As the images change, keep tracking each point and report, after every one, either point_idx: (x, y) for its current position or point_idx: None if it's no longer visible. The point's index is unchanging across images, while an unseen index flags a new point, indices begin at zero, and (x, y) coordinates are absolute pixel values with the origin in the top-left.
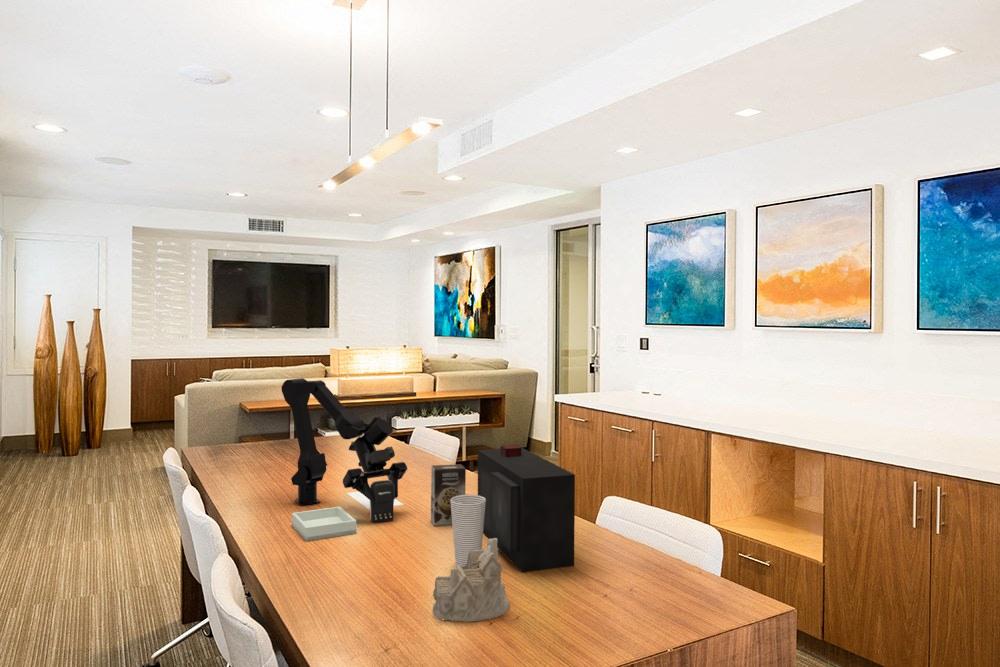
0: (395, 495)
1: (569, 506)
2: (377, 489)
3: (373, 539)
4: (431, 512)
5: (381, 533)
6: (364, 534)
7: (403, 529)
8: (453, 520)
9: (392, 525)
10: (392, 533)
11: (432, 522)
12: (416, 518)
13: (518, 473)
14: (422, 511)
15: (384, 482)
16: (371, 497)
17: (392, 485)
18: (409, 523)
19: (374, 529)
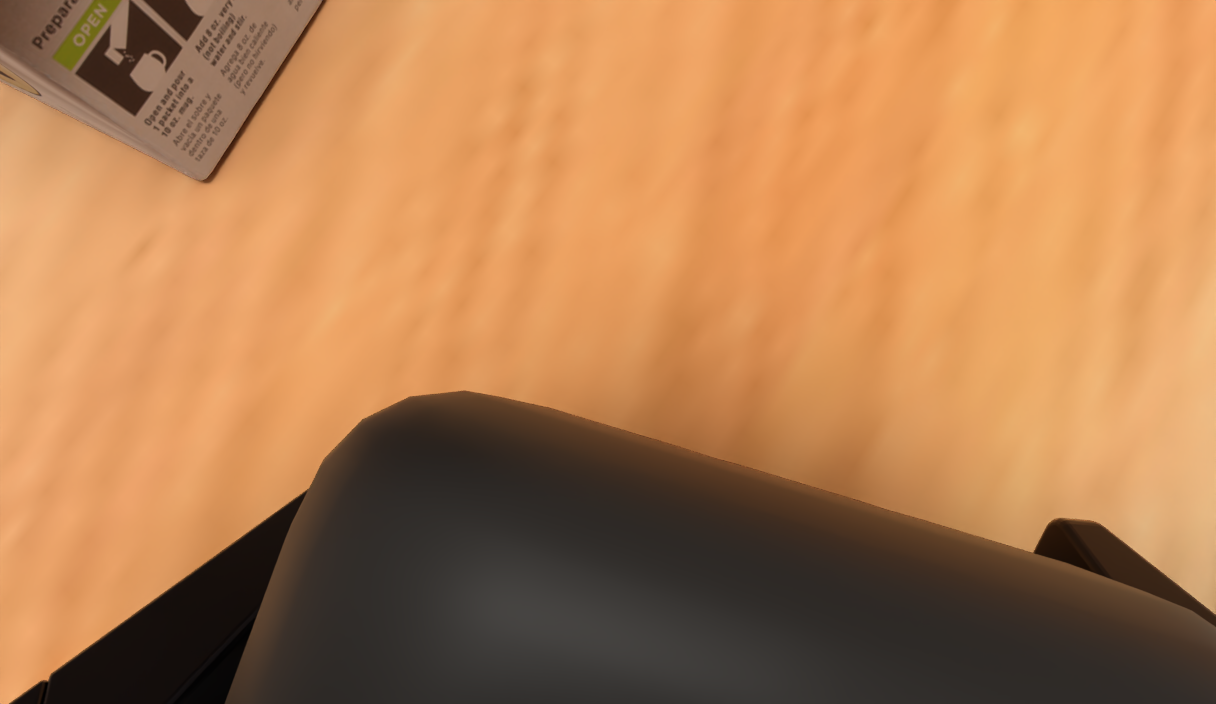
0: None
1: None
2: (1098, 576)
3: (1168, 5)
4: (169, 62)
5: (976, 131)
6: (1181, 229)
7: (676, 96)
8: None
9: (690, 314)
10: (865, 52)
11: (279, 56)
12: (278, 362)
13: None
14: (5, 580)
15: (757, 654)
16: (1172, 591)
17: (448, 404)
18: (477, 244)
19: (971, 322)
